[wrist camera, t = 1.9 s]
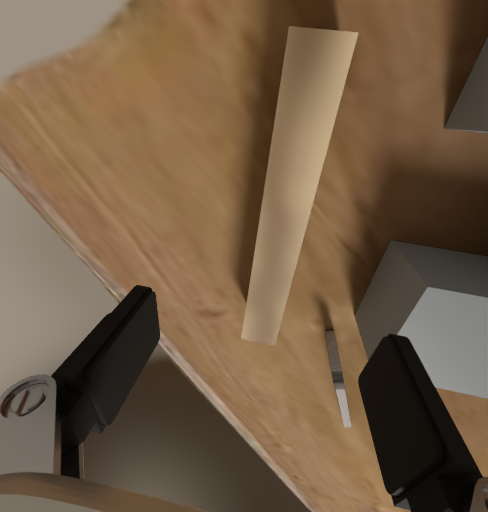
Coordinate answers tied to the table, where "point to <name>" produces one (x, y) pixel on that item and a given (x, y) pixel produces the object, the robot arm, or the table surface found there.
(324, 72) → the oak batten
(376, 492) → the table surface
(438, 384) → the notched block
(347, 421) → the caliper
